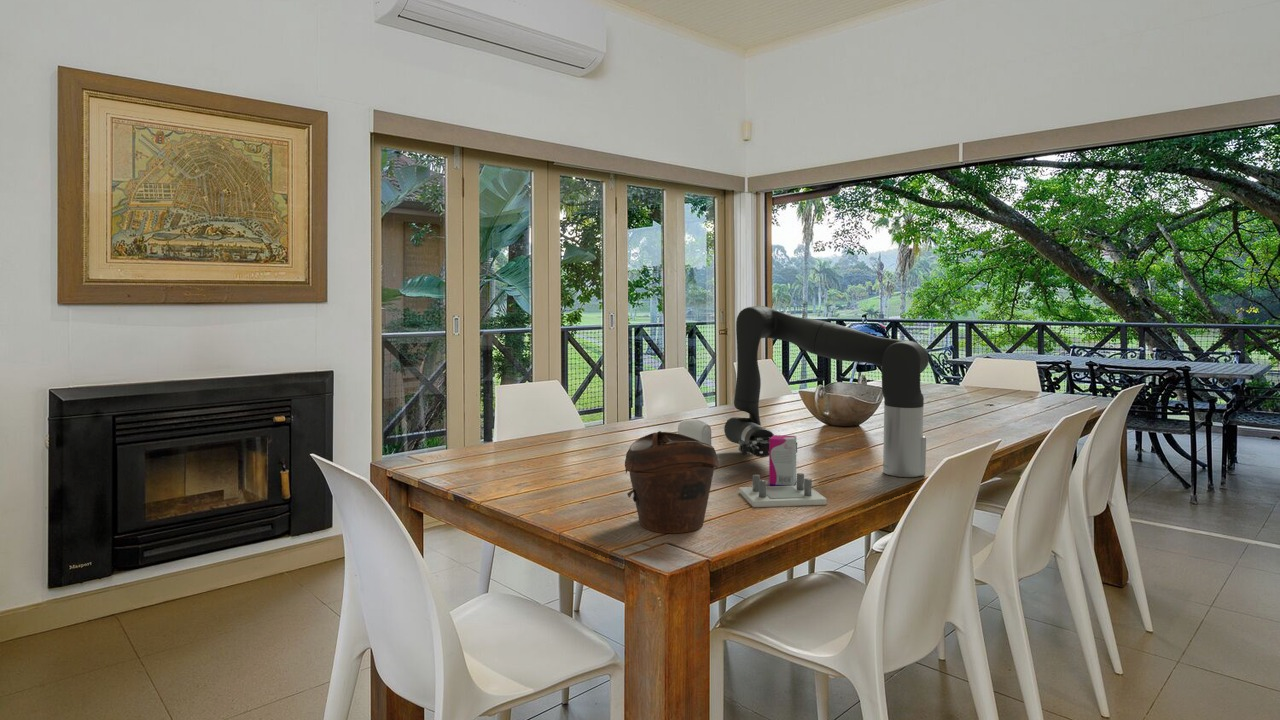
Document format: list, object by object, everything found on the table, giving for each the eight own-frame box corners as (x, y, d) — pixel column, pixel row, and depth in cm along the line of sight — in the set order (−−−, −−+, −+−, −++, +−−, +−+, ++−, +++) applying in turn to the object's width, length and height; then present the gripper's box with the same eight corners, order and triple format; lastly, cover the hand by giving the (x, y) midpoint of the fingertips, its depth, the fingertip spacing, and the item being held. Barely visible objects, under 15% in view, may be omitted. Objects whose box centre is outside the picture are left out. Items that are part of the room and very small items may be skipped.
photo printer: (675, 463, 195) (675, 418, 194) (687, 461, 198) (687, 416, 197) (702, 470, 187) (702, 422, 186) (714, 467, 190) (714, 421, 189)
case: (658, 504, 155) (657, 421, 153) (738, 521, 142) (738, 431, 140) (601, 525, 141) (600, 434, 139) (685, 547, 128) (684, 447, 127)
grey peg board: (807, 490, 166) (808, 470, 165) (826, 504, 154) (827, 482, 154) (739, 492, 164) (739, 472, 164) (753, 507, 152) (753, 485, 152)
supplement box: (796, 482, 173) (797, 435, 172) (793, 488, 168) (794, 439, 167) (772, 480, 175) (772, 434, 174) (768, 486, 169) (769, 438, 169)
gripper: (731, 426, 192) (747, 437, 176) (784, 425, 194) (803, 436, 177) (731, 454, 193) (746, 468, 177) (783, 453, 194) (803, 466, 178)
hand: (775, 452), depth 177 cm, fingers open, 8 cm apart
